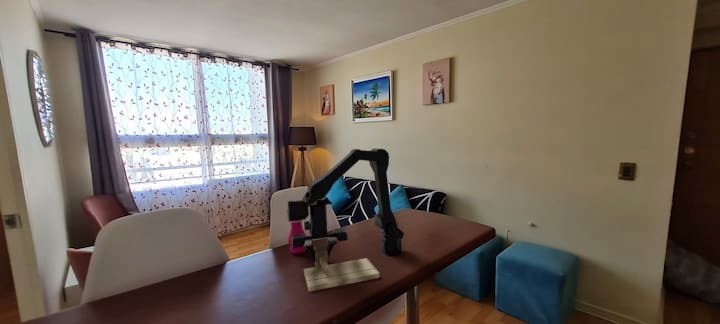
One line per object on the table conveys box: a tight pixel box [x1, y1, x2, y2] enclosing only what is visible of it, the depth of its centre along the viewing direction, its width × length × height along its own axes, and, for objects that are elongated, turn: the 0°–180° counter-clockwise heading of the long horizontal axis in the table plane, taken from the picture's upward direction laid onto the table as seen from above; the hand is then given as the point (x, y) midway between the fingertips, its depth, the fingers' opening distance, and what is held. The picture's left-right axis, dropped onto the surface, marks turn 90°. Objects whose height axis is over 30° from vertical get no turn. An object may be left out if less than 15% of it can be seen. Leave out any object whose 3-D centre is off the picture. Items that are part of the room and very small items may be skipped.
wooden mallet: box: [313, 244, 330, 275], centre depth 95 cm, size 4×16×6 cm, turn 17°
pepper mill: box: [287, 220, 307, 254], centre depth 113 cm, size 7×7×20 cm
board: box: [303, 257, 381, 293], centre depth 92 cm, size 22×12×2 cm, turn 108°
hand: (320, 261), depth 100 cm, fingers closed on wooden mallet, 4 cm apart
